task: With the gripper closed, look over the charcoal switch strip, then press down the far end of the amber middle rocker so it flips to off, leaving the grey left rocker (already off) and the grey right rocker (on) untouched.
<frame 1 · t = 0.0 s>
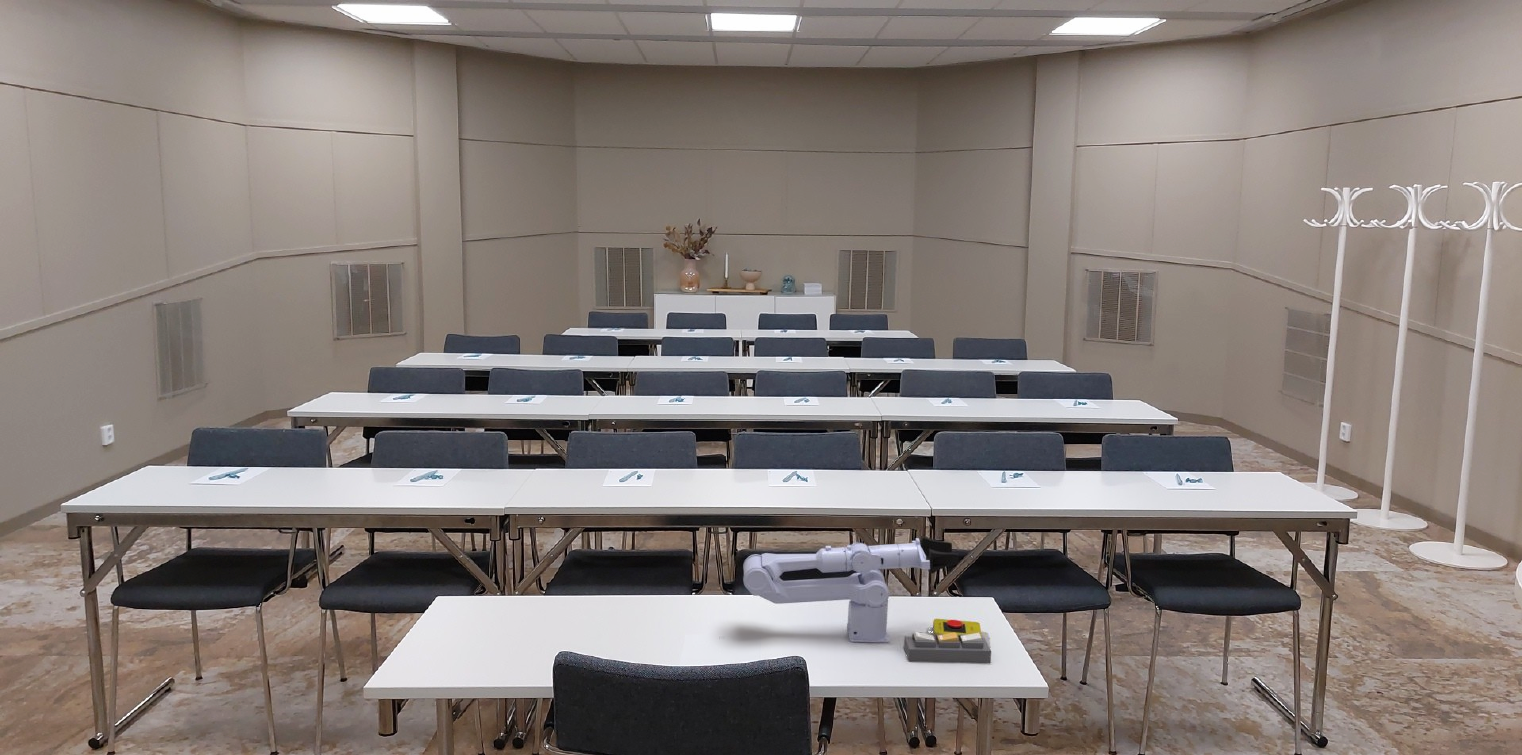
hand: (954, 552, 255), 22 cm above the table, tool horizontal, fingers open, 7 cm apart
switch strip: (946, 655, 250), on the table
rocker amber: (947, 638, 249), point 4 cm above the table, hinge at -12.0°
rocker left: (924, 637, 249), point 4 cm above the table, hinge at 12.0°
emergency button: (957, 640, 260), on the table
rocker right: (971, 638, 249), point 4 cm above the table, hinge at -12.0°
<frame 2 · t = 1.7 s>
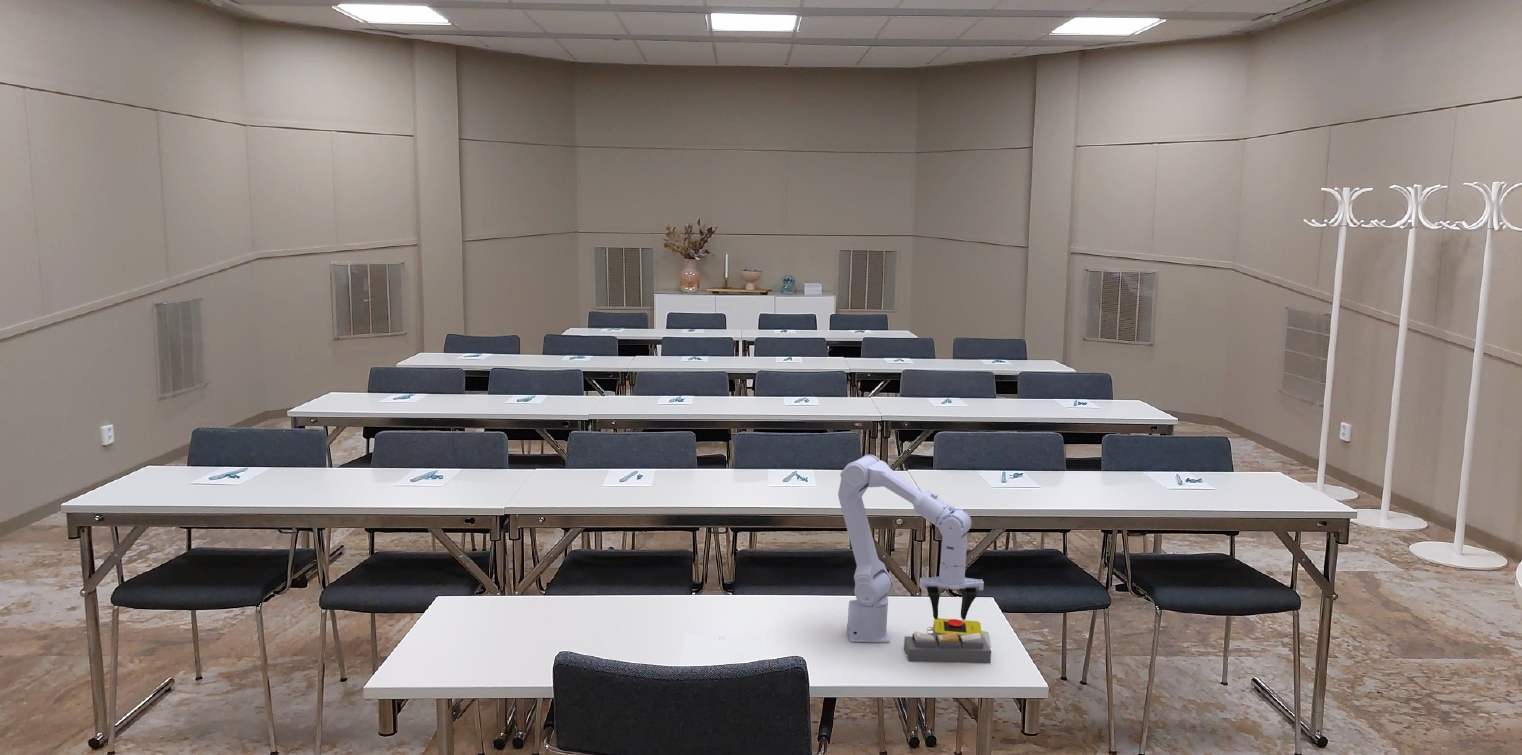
hand: (949, 617, 248), 9 cm above the table, tool pointing down, fingers open, 6 cm apart
nothing on the table moved.
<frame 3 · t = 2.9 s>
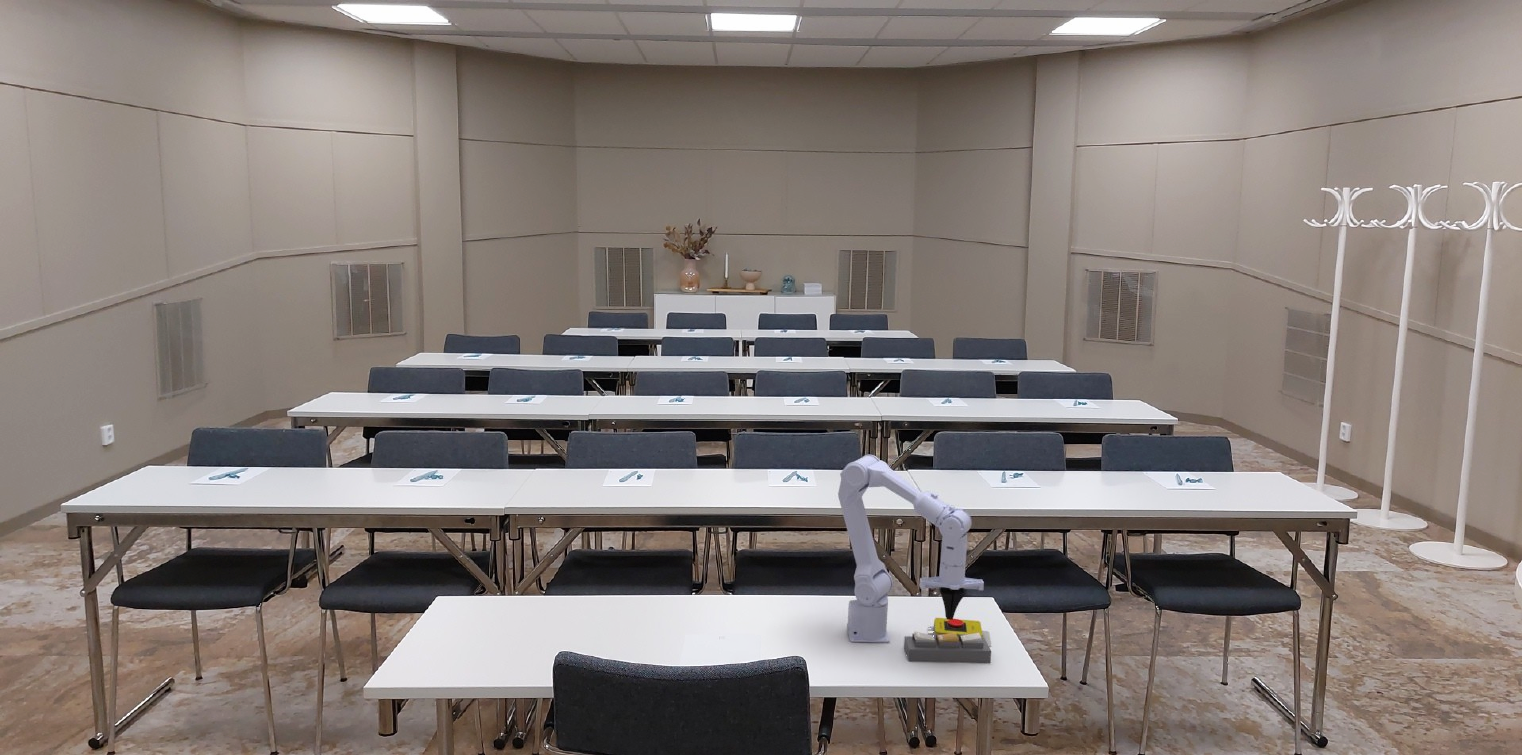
hand: (949, 617, 248), 9 cm above the table, tool pointing down, fingers closed
nothing on the table moved.
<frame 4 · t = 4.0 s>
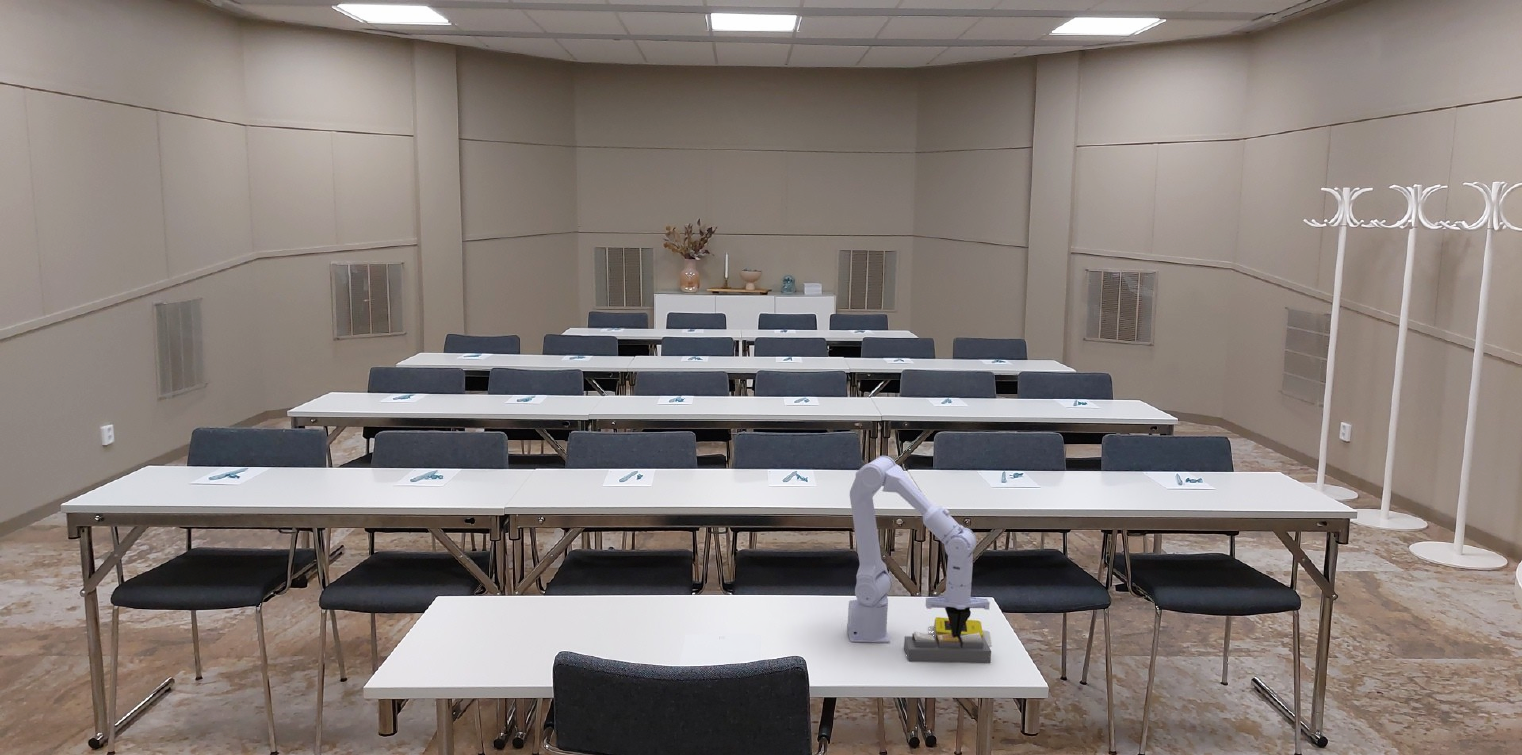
hand: (955, 637, 249), 5 cm above the table, tool pointing down, fingers closed, pressing on rocker amber
rocker amber: (947, 638, 249), point 4 cm above the table, hinge at -12.0°, touching gripper
everything else where it was.
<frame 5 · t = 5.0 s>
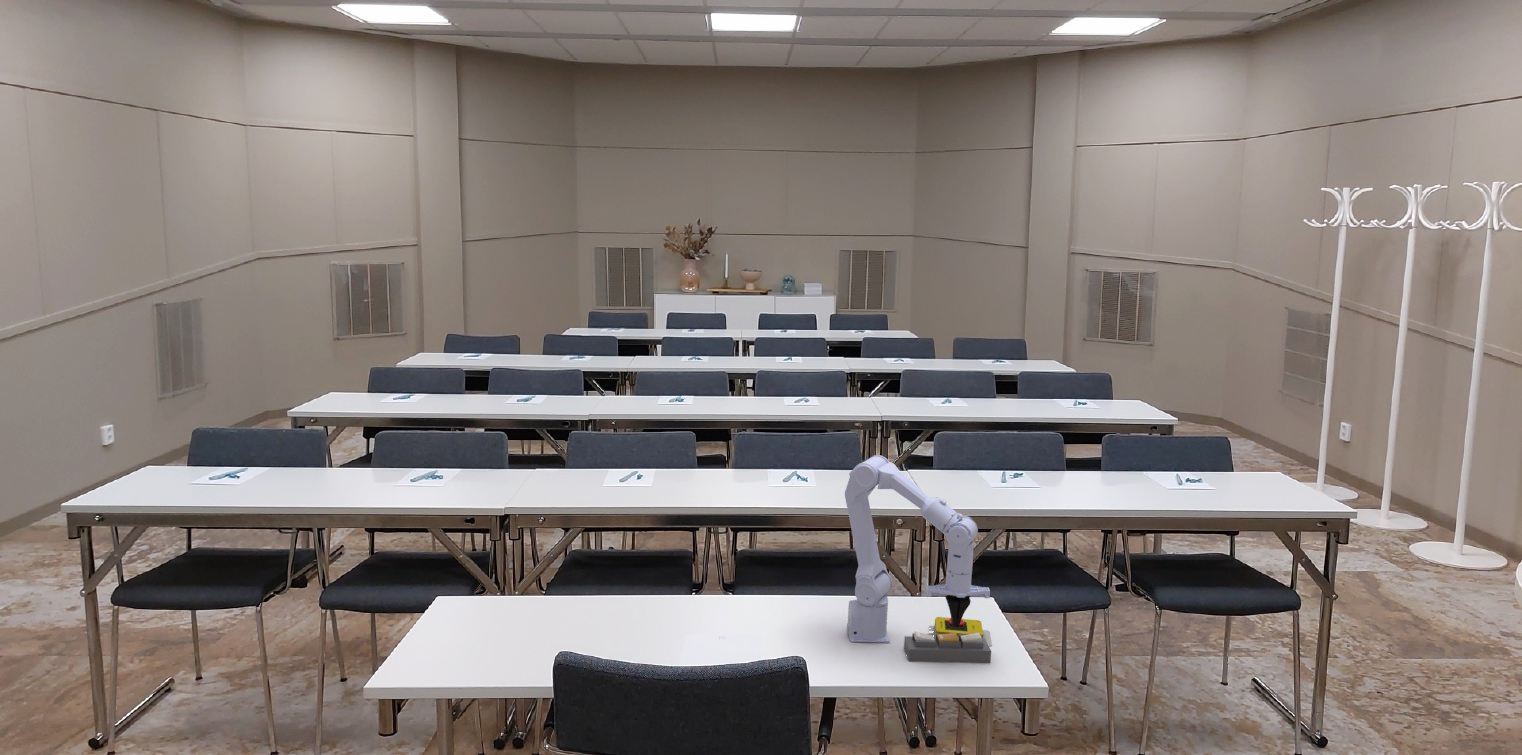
hand: (955, 625, 248), 8 cm above the table, tool pointing down, fingers closed
rocker amber: (947, 638, 249), point 4 cm above the table, hinge at -6.0°
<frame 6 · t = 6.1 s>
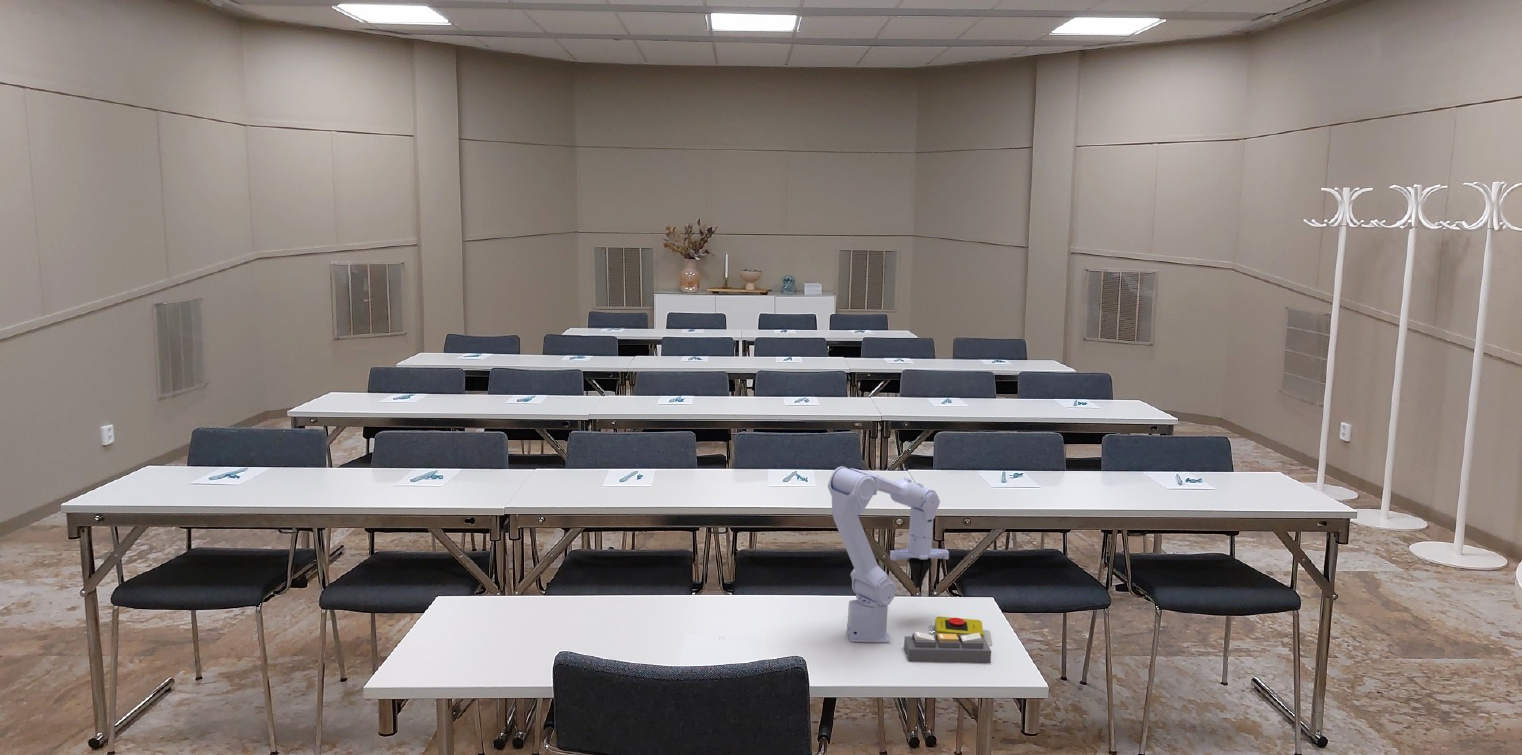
hand: (917, 586, 267), 9 cm above the table, tool pointing down, fingers closed
rocker amber: (947, 638, 249), point 4 cm above the table, hinge at 0.5°
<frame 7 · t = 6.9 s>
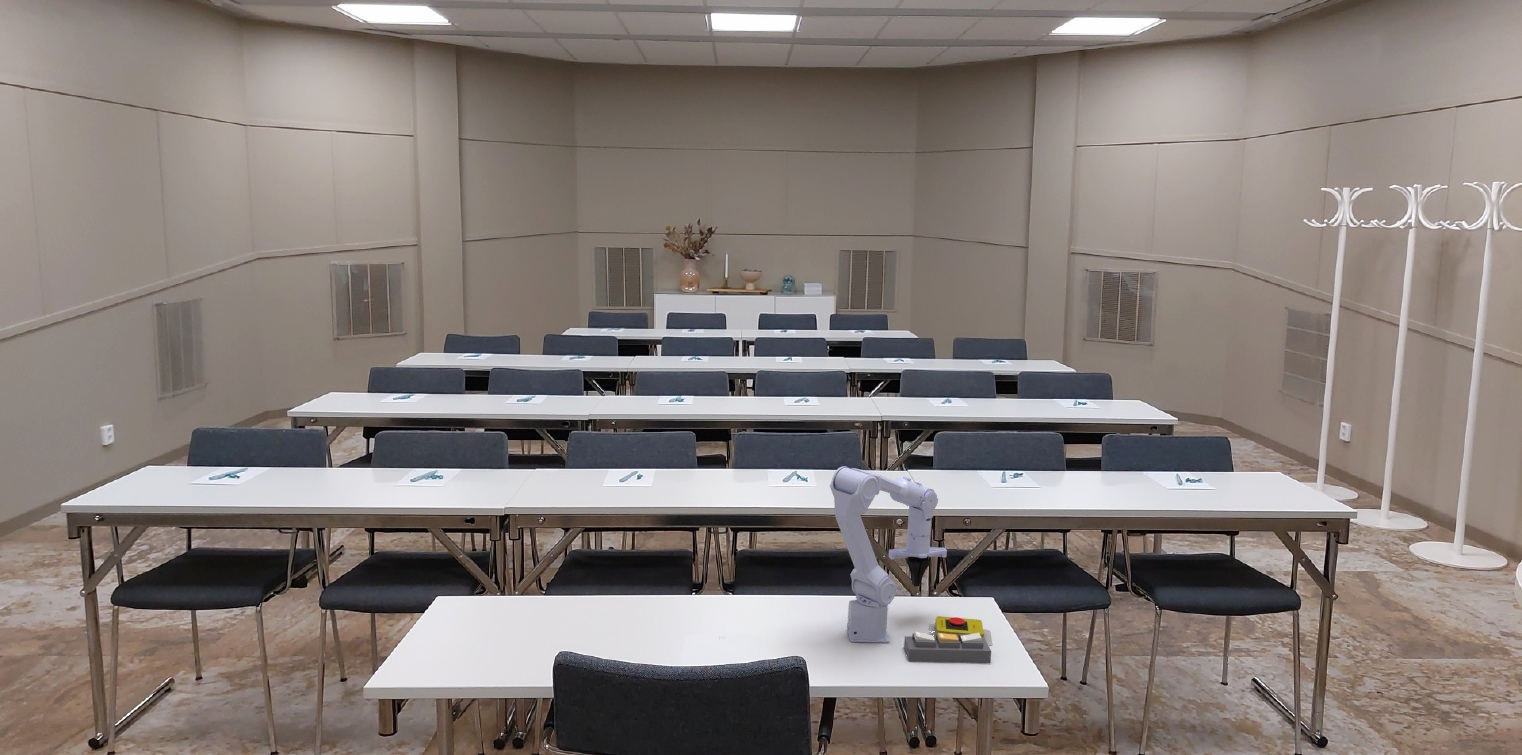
hand: (915, 584, 267), 9 cm above the table, tool pointing down, fingers closed
rocker amber: (947, 638, 249), point 4 cm above the table, hinge at 4.6°
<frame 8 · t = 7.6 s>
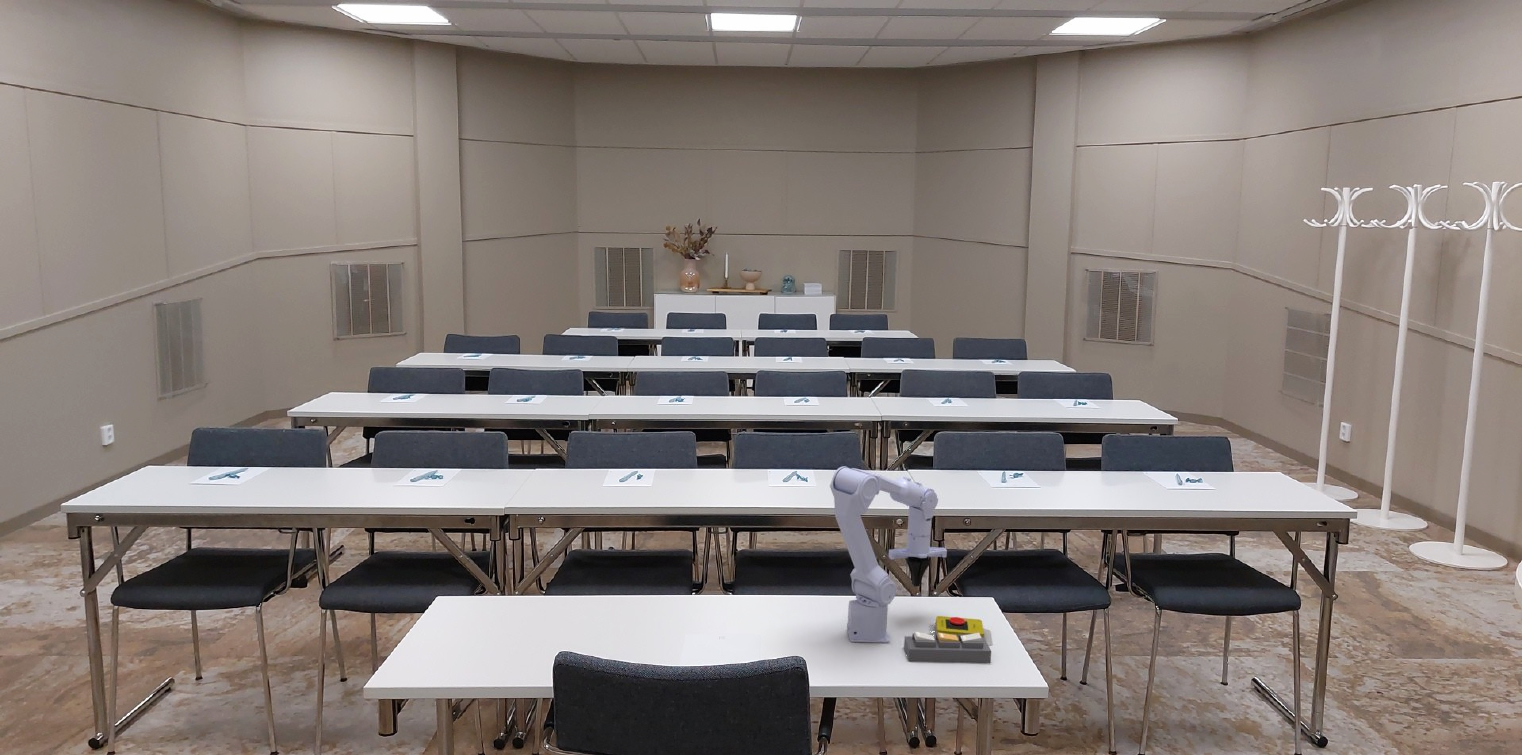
hand: (915, 584, 267), 9 cm above the table, tool pointing down, fingers closed
rocker amber: (947, 638, 249), point 4 cm above the table, hinge at 7.8°
at the end: rocker amber at +8° (first picture: -12°); rocker left at +12° (first picture: +12°); rocker right at -12° (first picture: -12°) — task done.
